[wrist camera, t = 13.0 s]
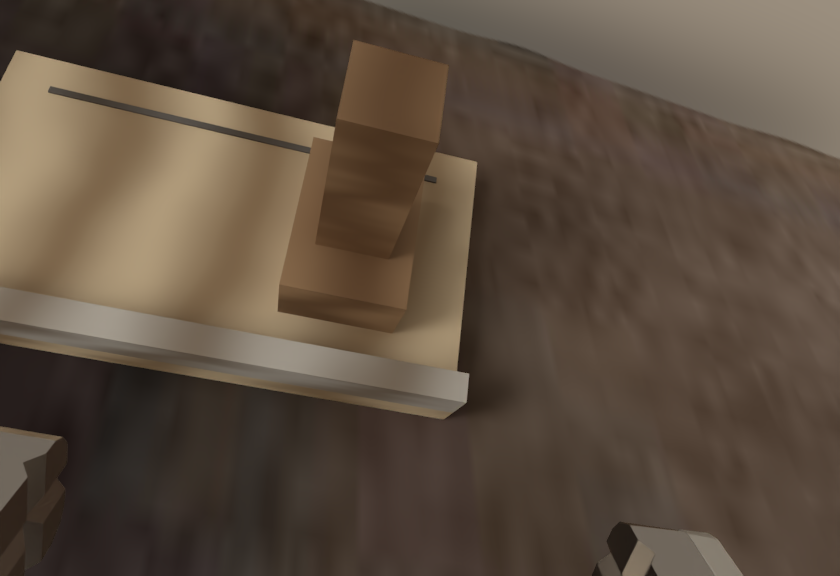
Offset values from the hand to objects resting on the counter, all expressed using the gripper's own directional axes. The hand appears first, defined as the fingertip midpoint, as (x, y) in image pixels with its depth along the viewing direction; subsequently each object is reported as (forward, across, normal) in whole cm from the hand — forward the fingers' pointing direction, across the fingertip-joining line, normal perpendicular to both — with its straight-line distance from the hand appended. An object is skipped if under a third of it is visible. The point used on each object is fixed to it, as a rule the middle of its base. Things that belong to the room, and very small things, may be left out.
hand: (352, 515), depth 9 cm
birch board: (+21, +6, +4) cm, 22 cm away
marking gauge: (+20, 0, +2) cm, 20 cm away
